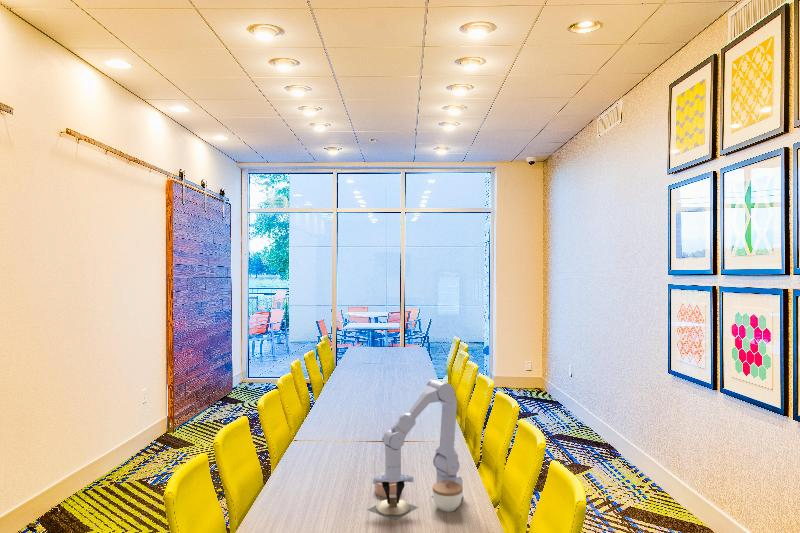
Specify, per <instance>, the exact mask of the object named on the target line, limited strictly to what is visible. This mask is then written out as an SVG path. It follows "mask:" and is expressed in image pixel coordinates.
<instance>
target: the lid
mask: <svg viewBox="0 0 800 533" xmlns="http://www.w3.org/2000/svg"><path fill="white" fill-rule="evenodd" d="M389 497H390V504H388V503H387V499H384V500H383V499H382V500H381V501H378V503H377V504H376V510H377V511H378V512H379V513H381V514H384V515H390V516H396V515H402V514H405V513H407V512H408V511H409V509H410V505H411V504H410V503H409V502H407V501H405V500H403V499H399V503H397V496H396V495H389ZM409 504H410V505H409Z"/></svg>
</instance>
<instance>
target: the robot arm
mask: <svg viewBox="0 0 800 533" xmlns="http://www.w3.org/2000/svg"><path fill="white" fill-rule="evenodd" d="M433 403H440V404H441V418H440V419H441V421H440V436H439V446H438V447H437V448H435V454H434V456H433V460H432V464H433V466H434V467H435V471H436V483H437V482H441V481H452V482H456V483H459V484H460V485H461V486H462V488H463V478H462V477H461V476H460V475H458V472H459V471H460V461H459V454H458V452H457V451H456V449H455V441H456V440H455V439H456V438H455V437H456V426H457V425H456V422H457V406H458V399H457V397H456V394H455V387H453V386H452V385H451V384H450V383H447V382H443V381H440V380H437V379H434V378H432V379H430V380H428V382H427V383H426V385H425V386H423V390H422V392H421V394H420V395H419V397H418V398H417V399H416V401H415V402H414V404H413V405H412V407H411V408H410V409H409V411H408V412H404V413H403V414H400V415H399V416H398V419H397V421H396V422H395V423H394V425H393V426H391V428H390V429H389V430H386V431H385V432H384V433H383V436H382V438H381V441H382V443H383V445H384V460H385V461H384V464H385V465H384V474H383V475H377V476H372V484H373V485H375V484H376V483H382V486H383V488H384V491H385V493H386V496H387V497H386V500H387V503H388V504H390V497H389V492H390V486H389V483H392V482H396V490H397V491H396V496H397V503H399V500H401V499H400V498H401V495H402V492H403V490H404V489H405V483H407V482H408V483H409V482H410V483H414V475H413V474H402V447H404V444H405V439H406V437H407V435H408V434H409V433H410V432H411V431H412V429H413V428H414V427H415V425H416V422H417V421H416V419H417V418H418V417H419V416H420V415H421V414H422V413H423V411H424V410H425V409H426V408H427V407H428V406H429V405H430V404H433ZM463 489H464V488H463ZM463 491H464V490H462V498H464V494H463V493H464V492H463ZM431 498H433V494H432V495H431Z"/></svg>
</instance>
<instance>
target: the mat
mask: <svg viewBox="0 0 800 533" xmlns="http://www.w3.org/2000/svg"><path fill="white" fill-rule="evenodd" d="M408 504H409V505H410V509H409V511H408V512H407V513H405V514H402V515H396V516H390V515H384V514H381V513H379V512H378V511H377V510H376V505H377V504H376V505H373V506H372V507H369V508H367V511H369V512H372V513H375V514H378V515H381V516H383V517H386V518H389V519H392V520H394V521H397V520H399V519H400V518H402V517H404V516H405V515H407V514H409V513H411V512H413V511H414V510H416V509H418V508H419V507H418V506H416V505H413V504H410V503H408Z"/></svg>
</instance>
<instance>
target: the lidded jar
mask: <svg viewBox="0 0 800 533" xmlns="http://www.w3.org/2000/svg"><path fill="white" fill-rule="evenodd" d="M463 489H464V488H462V486H461V485H460V484H459V483H456V482H452V481H441V482H437V481H436V483H435V482H434V484H433V485H432V495H433V497H432V498H433V501H434V503H435V505H436V506H437V508H438V509H440V510H441V511H442V512H447V513H448V512H449V513H450V512H454V511H456V510H457V508H458V507H459V506H460V505H461V503H462V499H463V497H462V490H463ZM463 491H464V490H463Z"/></svg>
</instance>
